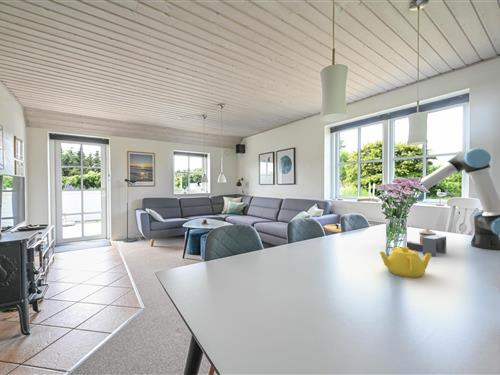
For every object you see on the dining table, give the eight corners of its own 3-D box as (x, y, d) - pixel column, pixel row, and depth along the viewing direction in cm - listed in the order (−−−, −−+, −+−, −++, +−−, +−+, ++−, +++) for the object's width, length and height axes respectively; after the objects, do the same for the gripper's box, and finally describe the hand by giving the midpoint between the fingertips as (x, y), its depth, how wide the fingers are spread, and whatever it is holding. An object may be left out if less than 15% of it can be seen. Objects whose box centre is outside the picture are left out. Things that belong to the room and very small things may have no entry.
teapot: (416, 282, 104) (416, 254, 104) (377, 271, 118) (377, 246, 118) (432, 273, 114) (432, 248, 114) (394, 264, 127) (394, 241, 127)
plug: (395, 244, 170) (394, 235, 170) (430, 251, 151) (430, 241, 151) (389, 245, 167) (389, 236, 167) (425, 252, 148) (425, 243, 148)
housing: (434, 250, 152) (434, 234, 152) (446, 253, 147) (446, 236, 147) (422, 254, 146) (422, 237, 145) (434, 256, 140) (434, 239, 140)
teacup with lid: (416, 245, 166) (416, 228, 166) (424, 243, 170) (423, 227, 170) (436, 249, 155) (436, 231, 155) (443, 247, 159) (443, 229, 159)
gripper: (393, 210, 158) (393, 246, 158) (409, 209, 167) (409, 242, 167) (382, 209, 165) (382, 244, 165) (398, 208, 174) (398, 240, 174)
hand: (396, 243), depth 166 cm, fingers closed on plug, 6 cm apart
